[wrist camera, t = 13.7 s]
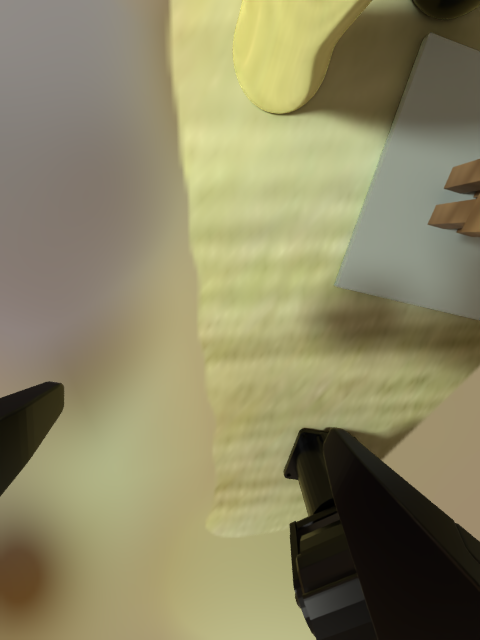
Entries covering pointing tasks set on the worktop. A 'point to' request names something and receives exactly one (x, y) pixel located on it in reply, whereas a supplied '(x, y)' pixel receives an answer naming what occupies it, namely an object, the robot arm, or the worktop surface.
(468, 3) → the supplement bottle
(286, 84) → the beer glass
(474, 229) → the walnut stool
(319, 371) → the worktop surface
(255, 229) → the worktop surface
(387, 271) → the rubber mat
